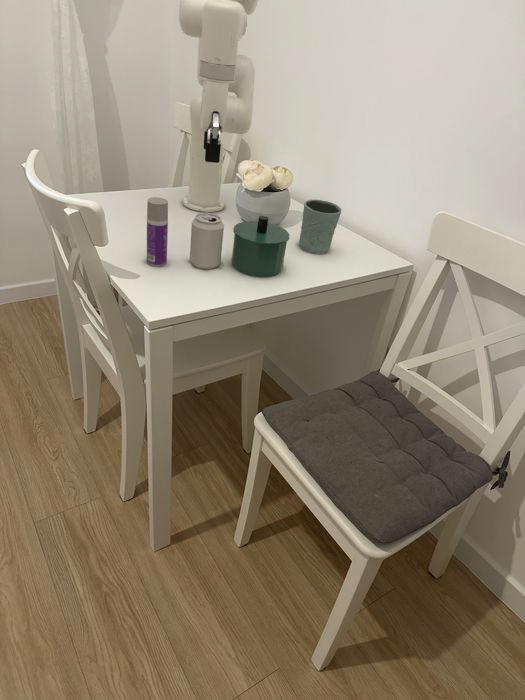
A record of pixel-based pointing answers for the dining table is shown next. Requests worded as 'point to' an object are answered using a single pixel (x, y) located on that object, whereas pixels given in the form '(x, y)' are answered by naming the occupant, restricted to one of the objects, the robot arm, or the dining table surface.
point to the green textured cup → (318, 226)
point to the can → (206, 240)
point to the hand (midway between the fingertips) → (211, 155)
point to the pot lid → (261, 232)
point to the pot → (257, 258)
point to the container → (157, 231)
